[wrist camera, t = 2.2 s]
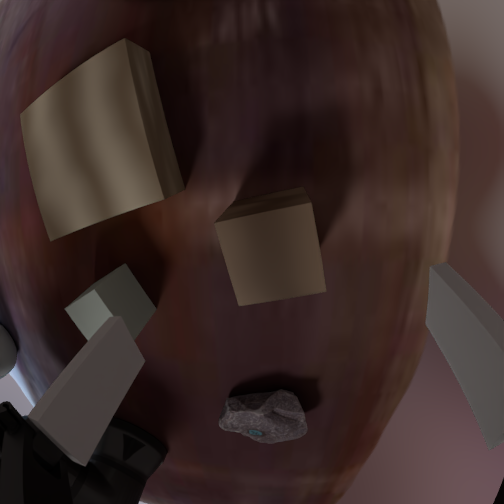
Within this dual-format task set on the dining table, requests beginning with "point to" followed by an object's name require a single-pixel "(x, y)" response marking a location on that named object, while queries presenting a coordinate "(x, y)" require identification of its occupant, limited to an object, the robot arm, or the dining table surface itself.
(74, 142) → the plinth
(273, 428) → the rock
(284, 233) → the walnut block
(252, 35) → the dining table surface
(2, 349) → the vase
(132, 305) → the grey green cube
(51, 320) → the dining table surface
